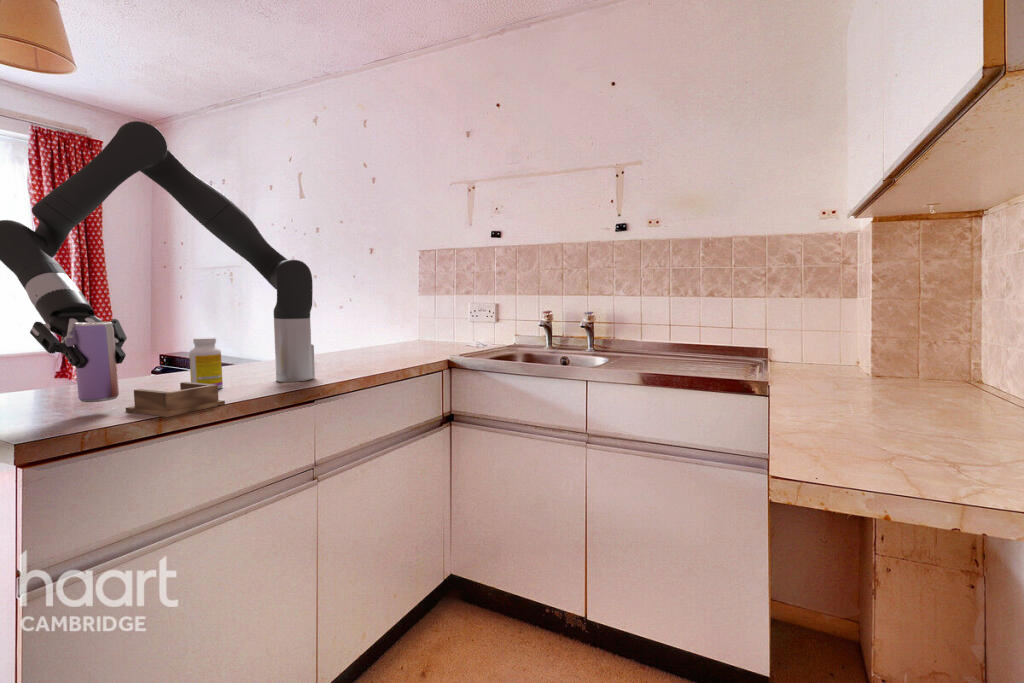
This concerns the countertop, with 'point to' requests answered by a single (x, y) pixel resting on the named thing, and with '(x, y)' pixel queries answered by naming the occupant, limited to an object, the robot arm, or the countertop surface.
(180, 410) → the cradle
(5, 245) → the robot arm
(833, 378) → the countertop surface
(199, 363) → the supplement bottle
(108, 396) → the lavender tall block
